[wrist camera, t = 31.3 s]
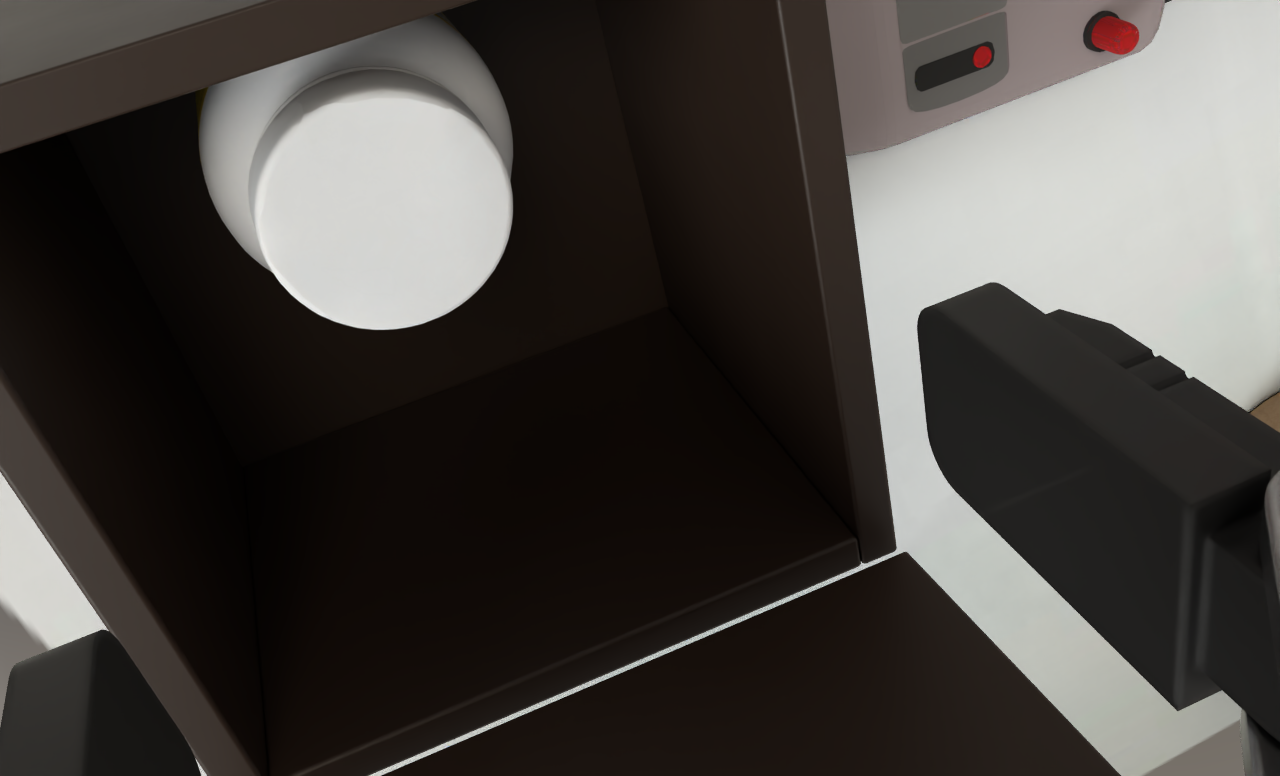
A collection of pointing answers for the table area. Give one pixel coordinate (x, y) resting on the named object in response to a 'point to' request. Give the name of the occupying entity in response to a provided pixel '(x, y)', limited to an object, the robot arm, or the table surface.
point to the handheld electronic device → (966, 57)
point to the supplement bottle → (366, 173)
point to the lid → (802, 701)
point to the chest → (435, 372)
